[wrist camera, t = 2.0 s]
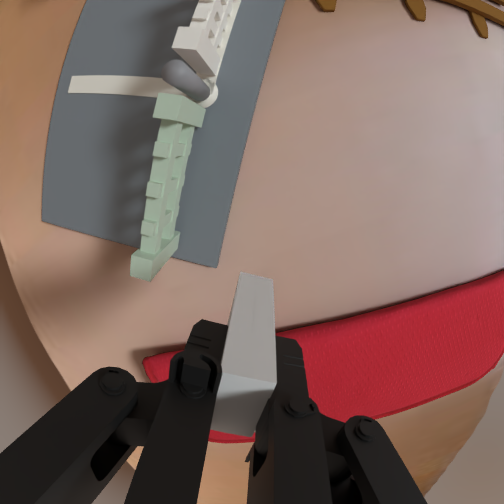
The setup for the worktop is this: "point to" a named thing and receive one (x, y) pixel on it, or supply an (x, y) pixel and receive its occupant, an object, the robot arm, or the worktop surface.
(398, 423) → the worktop surface
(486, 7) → the decorative fence
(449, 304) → the dish drying mat
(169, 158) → the hinged fence panel
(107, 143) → the card
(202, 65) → the fixed fence panel
